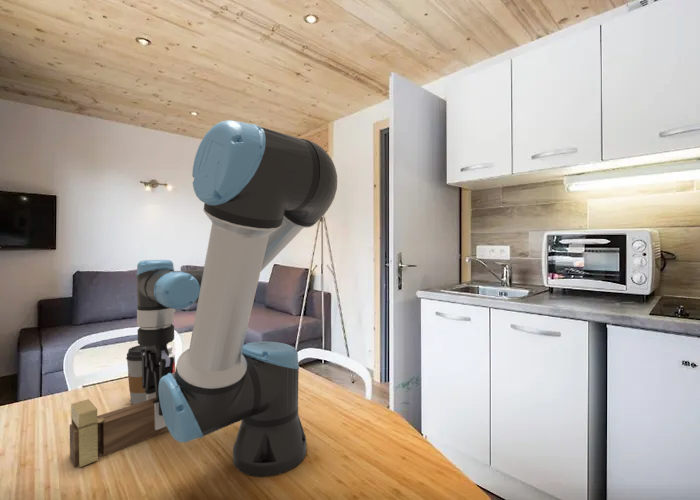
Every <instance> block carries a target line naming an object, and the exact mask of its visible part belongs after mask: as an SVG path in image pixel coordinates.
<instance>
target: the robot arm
mask: <svg viewBox="0 0 700 500" xmlns="http://www.w3.org/2000/svg"><path fill="white" fill-rule="evenodd" d="M337 174H338V173H337V168H336V166H335V164H334V161H333V160H332V157H331V156H330V155H329V153H328V152H326V150H325V149H324V147H321V146H320V145H319V144H317V143H315V142H313V141H311V140H309V139H304V138H300V137H296V136H293V135H290V134H286V133H282V132H279V131H275V130H272V129H269V128H266V127H262V126H260V125H258V124H256V123H253V124H252V123H247V122H242V121H236V120H232V119H230V120H229V119H228V120H223V121H219V122H218V123H216V124H214V125H213V126H212V127H211V128H210V129H209V130H208V131H207V132H206V133H205V135H203V137H202V140H201V141H200V143H199V145H198V148H197V150H196V153H195V156H194V162H193V165H192V178H193V181H192V187H193V191H194V194H195V196H196V197H197V198H198V200H199V201H201V202H202V203H203V204H204V205H203V212H204V213H205V215H206V216H207V218H208V219H209V220H210V221H211V228H210V233H209V239H208V245H207V248H206V250H207V251H206V255H205V260H204V266H203V269H192V270H191V269H190V270H189V269H188V270H175V267H174V262H173V261H172V260H169V259H149V260H148V259H147V260H145V259H144V260H140V261H139V262H138V263H137V265H136V266H137V267H136V275H135V277H136V300H137V301H136V304H137V308H136V326H137V327H138V329H137V344H138V345H141V346H146V347H145V348H141V356H142V387H143V389H145V392H146V394H148V395H146V401H147V400H150V399H153V398H156V400H153V403H154V411H155V430H158V429H161V428H163V427H166V426H167V428H168V430H169V431H168V432H169V433H170V435H171V437H172V439H174V440H175V441H176V442H178V443H188V442H191V441H194V440H196V439H197V440H198V439H202V438H204V437H205V436H208V435H209V434H212V433H215V432H217V431H220V430H222V429H223V428H226V427H228V426H232V425H233V424H236V423H238V422H240V425H239V428H238V431H237V435H236V438H235V442H234V444H233V448H232V462H233V465H234V467H235V468H236V469H237V470H238V471H239V472H241V473H243V474H244V475H246V476H247V475H248V476H252V477H257V478H258V477H259V478H260V477H262V478H264V477H272V476H273V477H274V476H277V475H281V474H284V473H287V472H288V471H291V470H293V469H294V468H296V467H297V466H298V465H299V464H300V463H301V462H302V461H303V460H304V458H305V457H306V455H307V436H306V433H305V430H304V428H303V424H302V421H301V419H300V415H299V373H300V372H299V370H300V365H299V354H298V351H297V350H296V348H295V347H294V346H292V345H291V344H286V343H282V342H276V341H253V342H252V341H251V342H246V343H245V339H246V336H247V335H246V334H247V332H248V327H249V321H250V318H251V314H252V311H253V305H254V301H255V297H256V294H257V292H256V291H257V289H258V284H259V280H260V275H261V273H262V271H263V270H265V268H267V266H268V265H269V264H270V263H271V262H272V261H273V260H274V259H275V258H276V257H277V256H278V255H279V254H280V253H281V252H282V251H283V250H284V249H285V248H286V247H287V246H288V244H289V243H290V242H292V241H293V239H295V237H296V236H297V235H298V234H299V233H300V232H301V231H302V230H303V229H305V228H307V229H308V228H311V227H314V225H316V224H317V222H319V221H320V220H321V219H322V218H323V216H324V215H325V214H326V213H327V212H328V210H329V209H330V207H331V205H333V202H334V199H335V197H336V193H337V190H338V189H337V188H338V175H337ZM194 304H196V305H197V306H196V310H195V315H194V322H193V326H192V332H191V337H190V342H189V343H190V344H189V348H188V349H186V350H185V351H183V352H182V353H181V354H180V356H179V357H178V358H177V361H176V364H175V373H173V363H174V358H173V357H168V356H169V352H168V349H167V345H169V343H172V342H173V341H174V340H175V325H174V324H173V323H174V322H175V313H176V312H177V311H176V309H177V310H181V309H185V308H189V307H190V306H192V305H194Z"/></svg>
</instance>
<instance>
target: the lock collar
mask: <svg viewBox="0 0 700 500" xmlns="http://www.w3.org/2000/svg"><path fill="white" fill-rule="evenodd" d="M70 409H71V410H70V414H71V415H70V418H71V420H70V421H71V423H70V424H73V423H75V424H76V426H77V428H78V444H79V466H78V467H79V468H82V467H84V466H86V465H90V464H92V463H94V462H97V461H99V452H98V423H97V416H98V407H96V406H95V405H94V404H93V402H92V401H91V400H90V398H87V399H84V400H81V401H77V402H73V403H71V404H70Z"/></svg>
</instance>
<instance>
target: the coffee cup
mask: <svg viewBox="0 0 700 500" xmlns="http://www.w3.org/2000/svg"><path fill="white" fill-rule="evenodd" d="M145 347H146V346H141V345H139V344H138V345H135V346H132V347H130V348H128V350H127V351H128V352H127V353H126V359H125V360H126V362H127V372H128V374H127V375H128V376H127V378H128V388H129V390H128V391H129V399H130V403H131V404H132V405H134V404H137V403H140V402H144V401H146V395H148V394H146V392H145V389H143V387H142V356H141V348H145Z"/></svg>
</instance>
